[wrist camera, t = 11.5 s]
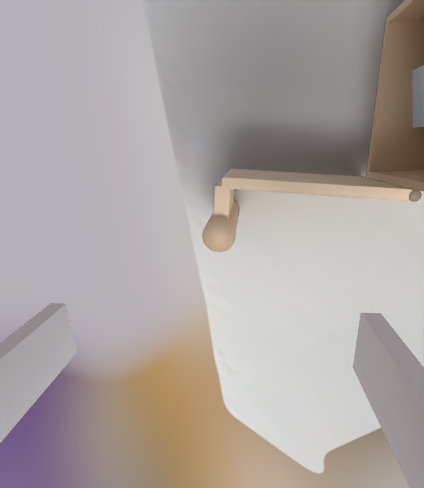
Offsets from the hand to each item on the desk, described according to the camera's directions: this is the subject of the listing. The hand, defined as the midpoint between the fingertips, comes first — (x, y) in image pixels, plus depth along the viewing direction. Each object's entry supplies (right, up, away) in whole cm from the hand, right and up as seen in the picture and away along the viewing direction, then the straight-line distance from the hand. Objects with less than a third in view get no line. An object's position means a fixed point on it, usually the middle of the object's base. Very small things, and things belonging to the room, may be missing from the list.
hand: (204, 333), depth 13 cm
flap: (+8, +9, +18) cm, 22 cm away
